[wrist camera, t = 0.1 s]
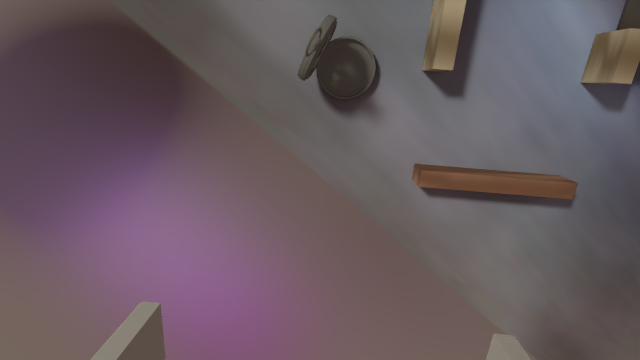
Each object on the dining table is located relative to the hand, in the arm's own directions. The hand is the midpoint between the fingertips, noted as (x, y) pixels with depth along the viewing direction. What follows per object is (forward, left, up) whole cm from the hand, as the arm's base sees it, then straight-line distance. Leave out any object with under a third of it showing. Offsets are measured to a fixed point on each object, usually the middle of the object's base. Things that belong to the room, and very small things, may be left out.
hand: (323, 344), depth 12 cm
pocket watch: (-12, 0, -28) cm, 31 cm away
